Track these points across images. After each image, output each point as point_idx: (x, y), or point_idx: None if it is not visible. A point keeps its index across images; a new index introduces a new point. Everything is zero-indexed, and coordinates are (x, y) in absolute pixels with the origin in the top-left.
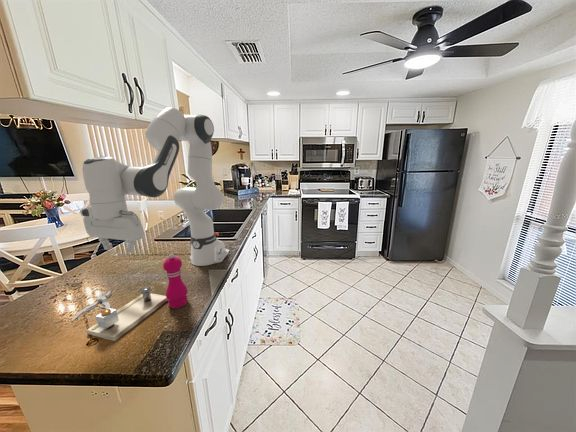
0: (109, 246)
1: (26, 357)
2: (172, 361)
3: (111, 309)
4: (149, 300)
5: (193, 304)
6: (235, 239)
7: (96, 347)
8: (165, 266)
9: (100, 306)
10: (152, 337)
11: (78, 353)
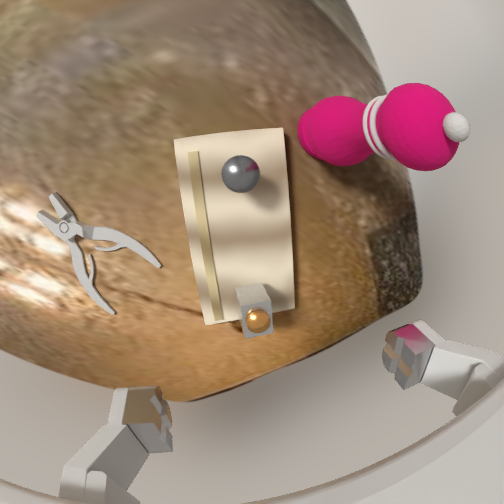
0: (161, 418)
1: (171, 384)
2: (418, 276)
3: (256, 306)
4: None
5: None
6: None
7: None
8: (426, 170)
9: (103, 249)
10: (358, 259)
11: (252, 347)
